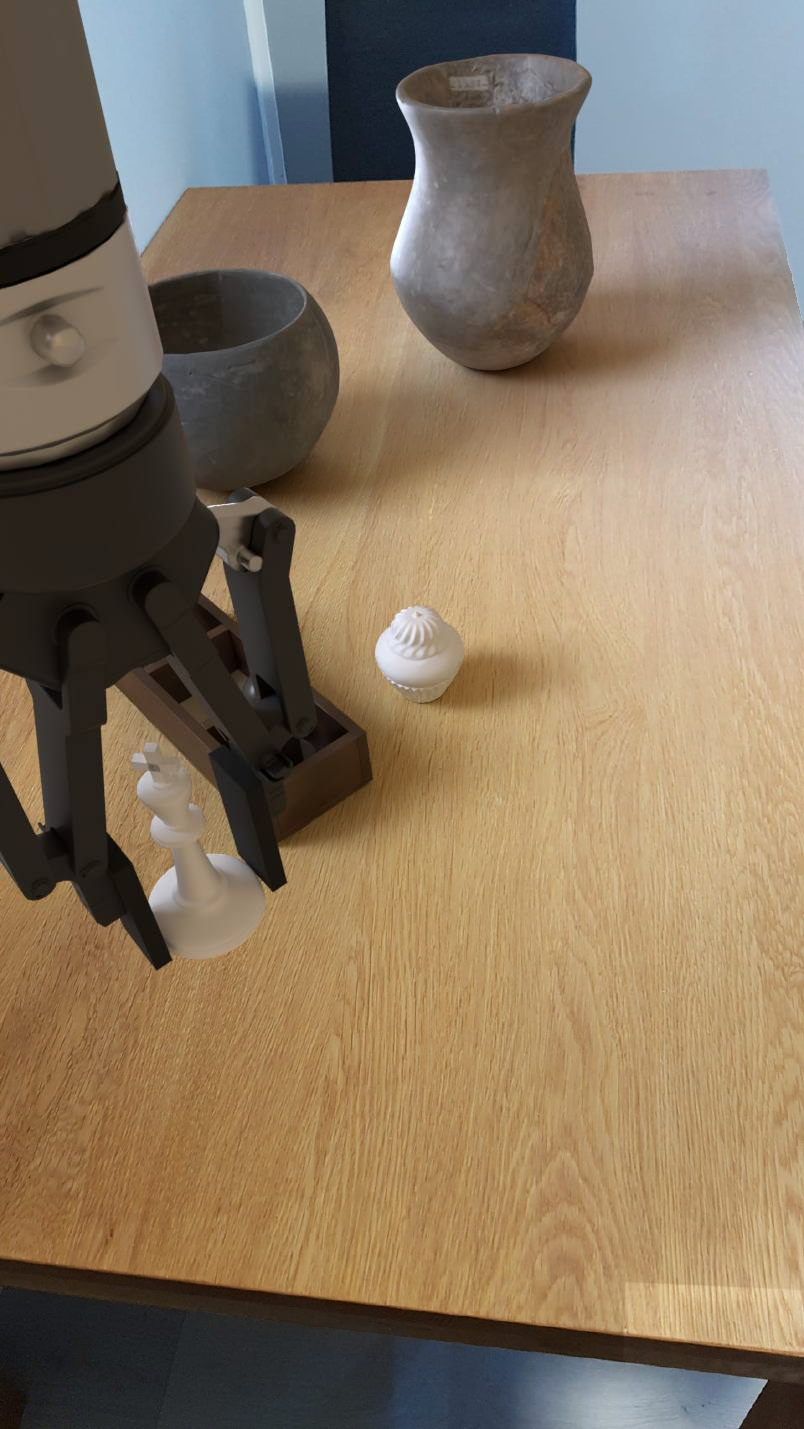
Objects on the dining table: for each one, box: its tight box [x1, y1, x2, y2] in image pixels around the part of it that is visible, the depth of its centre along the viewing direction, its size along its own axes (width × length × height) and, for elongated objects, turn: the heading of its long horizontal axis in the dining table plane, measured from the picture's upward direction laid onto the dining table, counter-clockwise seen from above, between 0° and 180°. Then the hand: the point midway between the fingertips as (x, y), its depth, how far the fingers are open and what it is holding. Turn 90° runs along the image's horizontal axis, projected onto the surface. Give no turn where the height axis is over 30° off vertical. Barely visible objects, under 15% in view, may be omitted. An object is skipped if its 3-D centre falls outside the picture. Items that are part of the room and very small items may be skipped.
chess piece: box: [130, 742, 267, 960], centre depth 42 cm, size 5×5×10 cm
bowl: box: [147, 267, 341, 492], centre depth 93 cm, size 20×20×15 cm
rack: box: [113, 592, 374, 845], centre depth 74 cm, size 8×23×5 cm, turn 40°
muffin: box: [374, 604, 465, 704], centre depth 74 cm, size 6×6×7 cm
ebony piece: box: [242, 676, 317, 767], centre depth 67 cm, size 4×4×9 cm
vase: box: [389, 53, 595, 371], centre depth 101 cm, size 20×19×25 cm
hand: (206, 904), depth 45 cm, fingers closed on chess piece, 5 cm apart
